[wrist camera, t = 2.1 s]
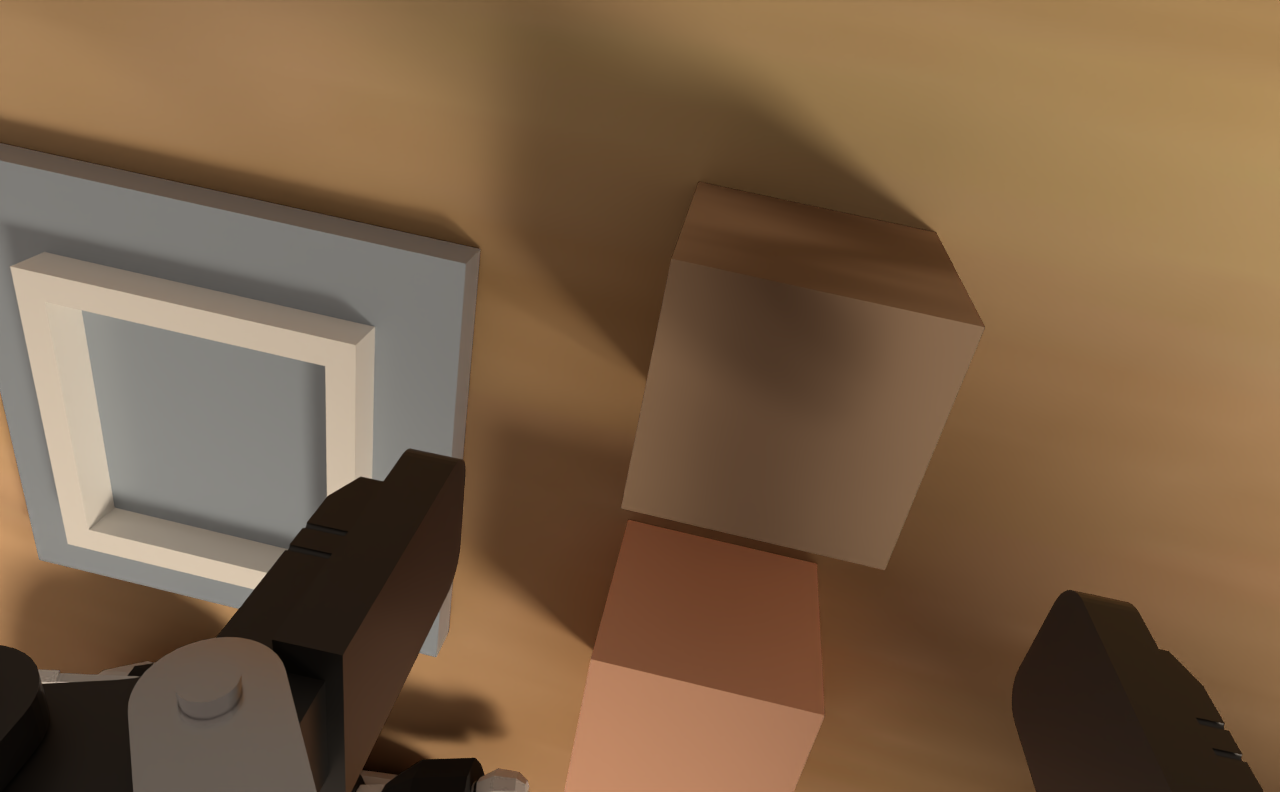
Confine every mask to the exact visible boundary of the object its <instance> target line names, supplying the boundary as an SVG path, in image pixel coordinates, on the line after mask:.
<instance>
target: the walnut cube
mask: <svg viewBox="0 0 1280 792" xmlns="http://www.w3.org/2000/svg"><path fill="white" fill-rule="evenodd" d="M984 329H985V326H984V324H983V322H982V320H981V318H980V316H979V315H978V313H977V311H976V309H975V307H974V305H973V303H972V301H971V299H970V297H969V295H968V293H967V291H966V289H965V287H964V285H963V284H962V282H961V280H960V278H959V276H958V274H957V272H956V270H955V268H954V266H953V264H952V262H951V260H950V258H949V256H948V255H947V253H946V251H945V249H944V247H943V245H942V243H941V241H940V239H939V237H938V235H937V233H936V232H932V231H927V230H923V229H918V228H913V227H909V226H904V225H899V224H895V223H890V222H885V221H881V220H876V219H871V218H867V217H862V216H857V215H853V214H848V213H843V212H839V211H834V210H829V209H825V208H820V207H815V206H811V205H806V204H801V203H797V202H792V201H787V200H783V199H778V198H773V197H769V196H764V195H759V194H755V193H750V192H745V191H741V190H736V189H731V188H726V187H722V186H717V185H712V184H708V183H703V182H698V185H697V188H696V191H695V193H694V196H693V199H692V202H691V205H690V208H689V210H688V213H687V216H686V219H685V222H684V224H683V227H682V230H681V233H680V236H679V238H678V241H677V244H676V247H675V250H674V252H673V255H672V258H671V263H670V268H669V273H668V278H667V282H666V287H665V292H664V297H663V302H662V307H661V312H660V317H659V322H658V327H657V332H656V337H655V342H654V347H653V352H652V357H651V362H650V367H649V372H648V377H647V382H646V387H645V392H644V396H643V401H642V406H641V411H640V416H639V421H638V426H637V431H636V436H635V441H634V446H633V451H632V456H631V461H630V466H629V471H628V476H627V481H626V486H625V491H624V496H623V501H622V506H621V509H625V510H630V511H634V512H638V513H642V514H647V515H651V516H655V517H660V518H664V519H668V520H672V521H677V522H681V523H685V524H690V525H694V526H698V527H702V528H707V529H711V530H715V531H719V532H724V533H728V534H732V535H737V536H741V537H745V538H749V539H754V540H758V541H762V542H767V543H771V544H775V545H779V546H784V547H788V548H792V549H796V550H801V551H805V552H809V553H814V554H818V555H822V556H826V557H831V558H835V559H839V560H844V561H848V562H852V563H856V564H861V565H865V566H869V567H873V568H878V569H882V570H885V569H886V566H887V564H888V562H889V559H890V557H891V554H892V552H893V549H894V547H895V545H896V542H897V540H898V537H899V535H900V532H901V530H902V528H903V525H904V523H905V520H906V518H907V515H908V513H909V511H910V508H911V506H912V503H913V501H914V498H915V496H916V494H917V491H918V489H919V486H920V484H921V482H922V479H923V477H924V474H925V472H926V469H927V467H928V465H929V462H930V460H931V457H932V455H933V452H934V450H935V448H936V445H937V443H938V440H939V438H940V435H941V433H942V431H943V428H944V426H945V423H946V421H947V418H948V416H949V414H950V411H951V409H952V406H953V404H954V402H955V399H956V397H957V394H958V392H959V389H960V387H961V385H962V382H963V380H964V377H965V375H966V372H967V370H968V368H969V365H970V363H971V360H972V358H973V355H974V353H975V351H976V348H977V346H978V343H979V341H980V338H981V336H982V334H983V331H984Z"/></svg>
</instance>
